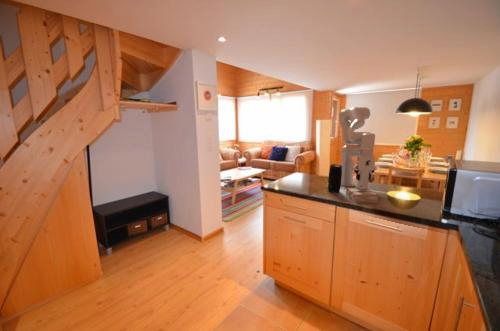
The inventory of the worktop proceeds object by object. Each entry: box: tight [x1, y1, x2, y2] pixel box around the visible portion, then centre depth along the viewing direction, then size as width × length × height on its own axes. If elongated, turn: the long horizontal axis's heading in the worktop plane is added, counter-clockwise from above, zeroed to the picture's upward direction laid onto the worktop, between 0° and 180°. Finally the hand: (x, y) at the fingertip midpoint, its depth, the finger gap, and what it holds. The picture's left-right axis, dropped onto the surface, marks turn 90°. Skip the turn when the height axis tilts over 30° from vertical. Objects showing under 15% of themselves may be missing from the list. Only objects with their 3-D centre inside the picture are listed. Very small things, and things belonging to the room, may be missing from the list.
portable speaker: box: [327, 163, 342, 194], centre depth 162 cm, size 9×9×20 cm
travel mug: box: [356, 160, 371, 191], centre depth 147 cm, size 6×7×20 cm
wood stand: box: [345, 187, 379, 203], centre depth 150 cm, size 14×14×5 cm
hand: (363, 179), depth 148 cm, fingers closed on travel mug, 6 cm apart
